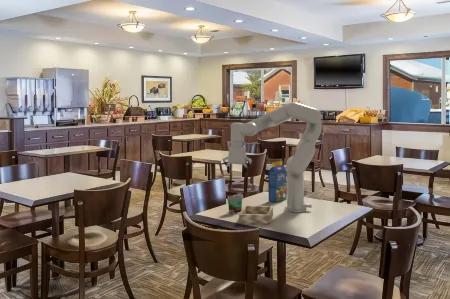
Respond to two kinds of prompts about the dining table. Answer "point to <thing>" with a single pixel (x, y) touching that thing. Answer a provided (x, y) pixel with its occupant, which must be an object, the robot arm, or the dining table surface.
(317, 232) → the dining table surface
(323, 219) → the dining table surface
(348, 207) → the dining table surface
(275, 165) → the blue food package
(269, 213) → the birch box
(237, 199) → the food container
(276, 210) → the dining table surface
